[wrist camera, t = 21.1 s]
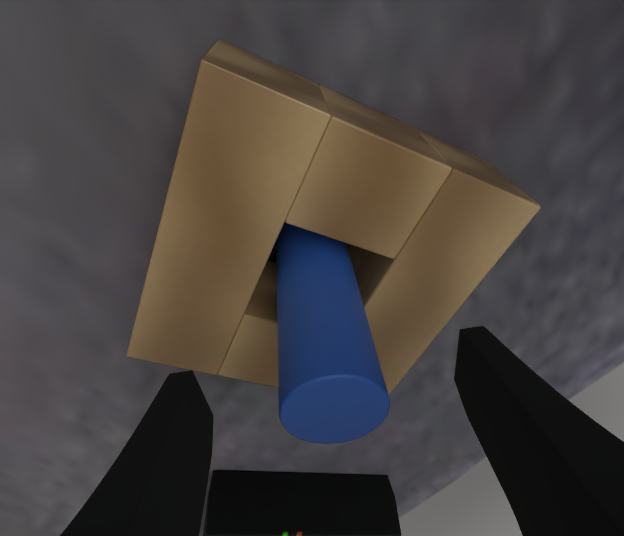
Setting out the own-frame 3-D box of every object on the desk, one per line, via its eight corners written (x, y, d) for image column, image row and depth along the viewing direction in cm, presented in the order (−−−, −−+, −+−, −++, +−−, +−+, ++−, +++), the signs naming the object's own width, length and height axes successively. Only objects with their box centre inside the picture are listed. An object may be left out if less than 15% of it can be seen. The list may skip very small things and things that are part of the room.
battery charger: (203, 531, 33) (196, 591, 30) (211, 469, 28) (203, 534, 24) (355, 531, 35) (364, 587, 32) (390, 474, 30) (404, 534, 27)
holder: (489, 161, 16) (543, 207, 13) (362, 345, 22) (378, 409, 19) (218, 38, 13) (201, 58, 10) (151, 290, 19) (125, 357, 15)
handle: (337, 196, 17) (389, 368, 9) (343, 252, 18) (391, 436, 11) (270, 206, 17) (268, 386, 9) (282, 262, 18) (289, 451, 11)
